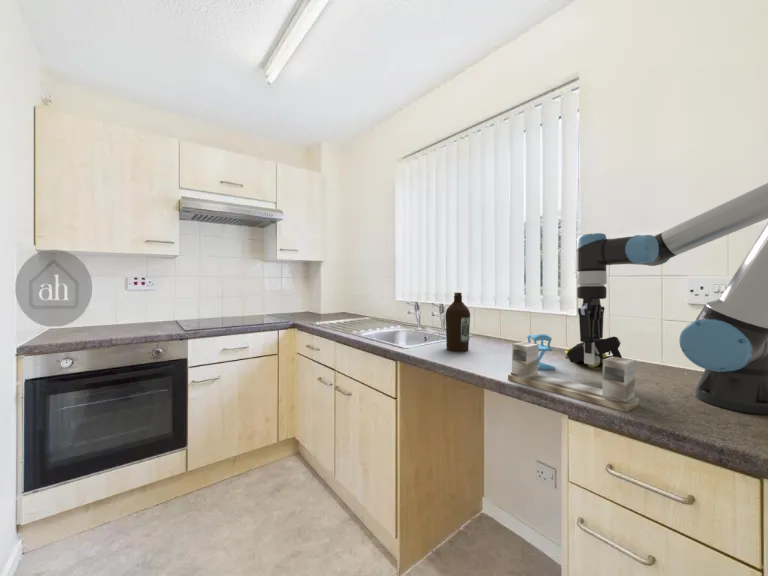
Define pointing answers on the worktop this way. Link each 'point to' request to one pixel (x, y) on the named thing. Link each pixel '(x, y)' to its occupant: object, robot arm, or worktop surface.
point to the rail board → (614, 383)
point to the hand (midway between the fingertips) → (591, 363)
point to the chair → (542, 349)
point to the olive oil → (457, 325)
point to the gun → (600, 348)
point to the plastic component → (590, 364)
